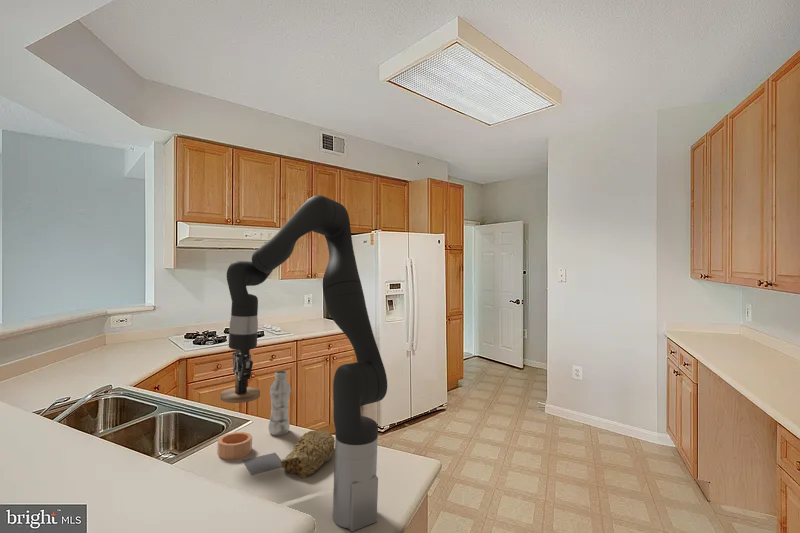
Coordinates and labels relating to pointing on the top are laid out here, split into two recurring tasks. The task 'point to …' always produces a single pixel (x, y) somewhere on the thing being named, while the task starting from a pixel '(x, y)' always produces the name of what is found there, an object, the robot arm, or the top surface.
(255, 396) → the lid
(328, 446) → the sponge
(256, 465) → the mat
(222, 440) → the bowl
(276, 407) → the plastic bottle
